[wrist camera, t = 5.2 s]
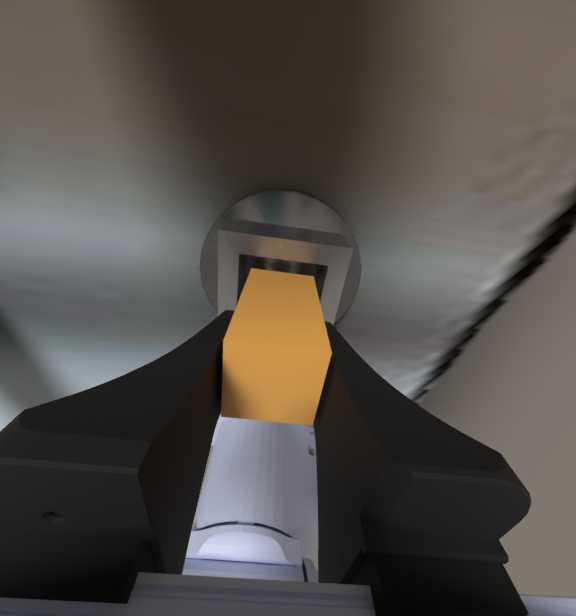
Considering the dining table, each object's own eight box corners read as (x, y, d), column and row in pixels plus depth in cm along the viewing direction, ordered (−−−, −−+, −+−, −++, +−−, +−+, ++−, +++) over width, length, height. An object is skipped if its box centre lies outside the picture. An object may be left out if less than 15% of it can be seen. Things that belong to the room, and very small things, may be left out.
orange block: (313, 276, 13) (331, 352, 7) (303, 328, 14) (312, 425, 9) (251, 268, 12) (223, 340, 7) (247, 322, 14) (221, 416, 8)
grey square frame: (375, 202, 15) (402, 214, 12) (337, 339, 20) (347, 379, 17) (204, 177, 15) (176, 181, 11) (206, 324, 20) (187, 362, 16)
